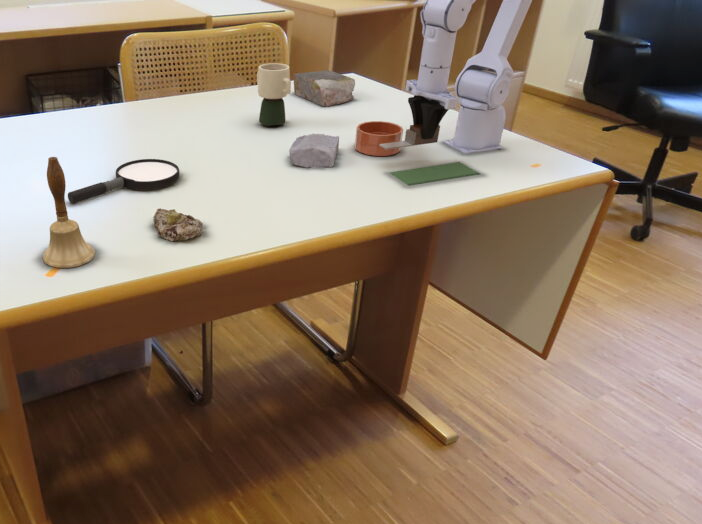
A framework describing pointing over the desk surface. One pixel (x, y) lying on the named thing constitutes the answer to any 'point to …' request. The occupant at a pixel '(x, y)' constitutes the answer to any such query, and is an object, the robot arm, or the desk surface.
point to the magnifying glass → (132, 178)
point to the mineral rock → (176, 225)
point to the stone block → (314, 150)
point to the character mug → (273, 92)
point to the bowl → (377, 137)
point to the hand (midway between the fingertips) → (423, 136)
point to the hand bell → (64, 227)
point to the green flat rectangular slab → (434, 173)
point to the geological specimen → (324, 87)
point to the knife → (412, 138)
